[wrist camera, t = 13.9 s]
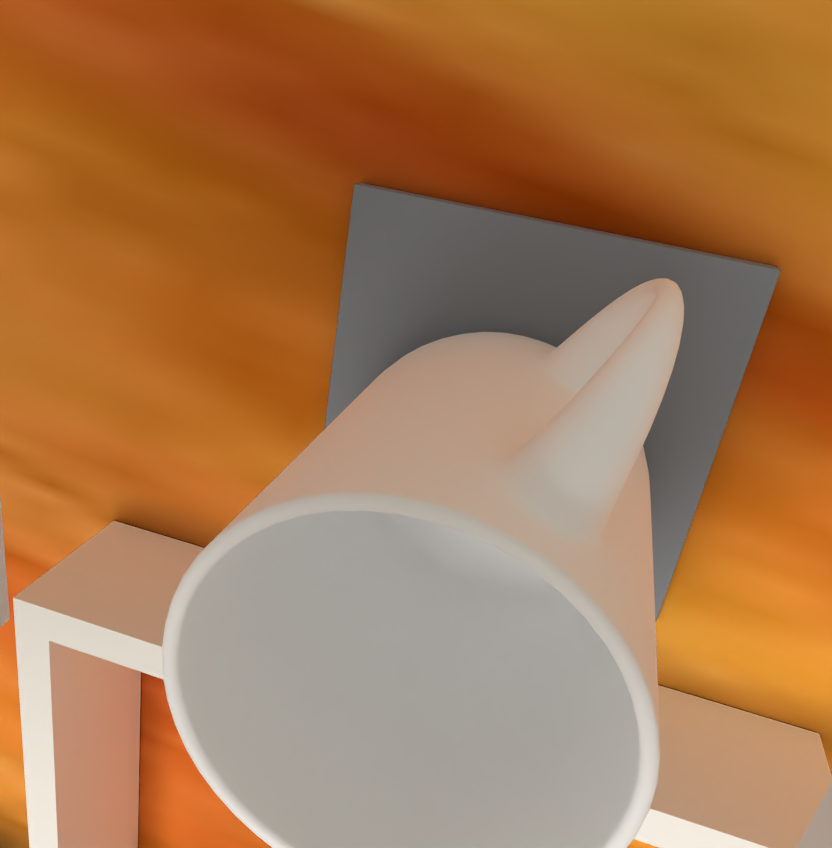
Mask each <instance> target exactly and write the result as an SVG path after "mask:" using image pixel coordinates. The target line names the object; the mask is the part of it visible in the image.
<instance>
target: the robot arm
mask: <svg viewBox="0 0 832 848" xmlns="http://www.w3.org/2000/svg"><path fill="white" fill-rule="evenodd" d="M9 619H10V616H9V603H8V590H7V577H6V564H5V552H4V539H3V526H2V513H1V500H0V627H1V626H2V625H3V624H5V623H6V622H7V621H8V620H9ZM797 848H832V782H831V784H830V786H829V788H828V790H827V791H826V793H825V795H824V797H823V799H822V801H821V803H820V805H819V806H818V808H817V810H816V812H815V814H814V816H813V818H812V820H811V821H810V823H809V825H808V827H807V829H806V831H805V833H804V835H803V836H802V838H801V840H800V842H799V844H798V846H797Z"/></svg>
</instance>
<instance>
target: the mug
mask: <svg viewBox="0 0 832 848" xmlns="http://www.w3.org/2000/svg"><path fill="white" fill-rule="evenodd" d="M683 322H684V302H683V296H682V292H681V290H680V288H679V286H678V285H677V284H676V283H675V282H674V281H672V280H669V279H667V278H659V279H654V280H650V281H647V282H645V283H642V284H640V285H638V286H636V287H635V288H633V289H631V290H629V291H628V292H626V293H625V294H623V295H622V296H620V297H619V298H617V299H616V300H614V301H613V302H612V303H610V304H609V305H608V306H606V307H605V308H604V309H602V310H601V311H600V312H599V313H597V314H596V315H595V316H594V317H592V318H591V319H590V320H589V321H588V322H586V323H585V324H584V325H583V326H582V327H580V328H579V329H578V330H577V331H576V332H574V333H573V334H572V335H571V336H570V337H569V338H567V339H566V340H565V341H564V342H563V343H561V344H560V345H559V346H558V347H555V346H552V345H550V344H548V343H545V342H542V341H539V340H536V339H532V338H529V337H526V336H521V335H515V334H510V333H503V332H475V333H464V334H460V335H455V336H451V337H446V338H442V339H439V340H437V341H434V342H431V343H428V344H426V345H423V346H421V347H419V348H417V349H416V350H414V351H412V352H410V353H408V354H406V355H405V356H403V357H402V358H401V359H399V360H398V361H397V362H395V363H394V364H393V365H391V366H390V367H388V368H387V369H386V370H385V371H383V372H382V373H381V374H380V375H379V376H378V377H377V378H376V379H375V380H374V381H373V382H372V383H371V384H370V385H369V386H368V387H367V388H366V389H365V390H364V391H363V392H362V393H361V394H360V395H359V396H358V397H357V398H356V399H355V400H354V401H353V402H352V403H351V404H350V405H349V406H348V407H347V408H346V409H345V410H344V411H343V412H342V413H341V414H340V415H339V416H338V417H337V418H335V419H334V420H333V421H332V422H331V423H330V424H329V425H328V426H327V427H326V428H325V429H324V430H323V431H322V432H321V433H320V434H319V435H318V436H317V437H316V438H315V439H314V440H313V441H312V442H311V443H310V444H309V445H308V446H307V447H306V448H305V449H304V450H303V451H302V452H301V453H300V454H299V455H298V456H297V457H296V458H295V459H294V460H293V461H292V462H291V463H290V464H289V465H288V466H287V467H286V468H285V469H284V470H283V471H282V472H281V473H280V474H279V475H278V476H277V477H276V478H275V479H274V480H273V481H272V482H271V483H270V484H269V485H268V486H267V487H266V488H265V489H264V490H263V491H262V492H261V493H260V494H259V495H258V496H257V497H256V498H255V499H254V500H253V501H252V502H251V503H250V504H249V505H248V506H247V507H246V508H245V509H244V510H242V511H241V512H240V513H239V514H238V515H237V516H236V517H235V518H234V519H233V520H232V521H231V522H230V523H229V524H228V525H227V526H226V527H225V528H224V529H223V530H222V531H221V532H220V533H219V534H218V535H217V536H216V537H215V538H214V539H213V540H212V541H211V542H210V543H209V544H208V545H207V546H206V547H205V548H204V549H203V550H202V551H201V552H200V553H199V554H198V555H197V557H196V558H195V560H194V561H193V562H192V564H191V565H190V566H189V568H188V569H187V571H186V572H185V573H184V575H183V577H182V579H181V581H180V583H179V585H178V587H177V589H176V592H175V594H174V596H173V598H172V602H171V605H170V609H169V612H168V616H167V619H166V623H165V629H164V637H163V645H162V666H163V679H164V684H165V690H166V696H167V700H168V704H169V707H170V710H171V713H172V716H173V720H174V723H175V725H176V728H177V730H178V732H179V734H180V737H181V739H182V741H183V743H184V746H185V748H186V750H187V751H188V753H189V755H190V756H191V758H192V760H193V762H194V763H195V765H196V767H197V768H198V770H199V772H200V773H201V774H202V776H203V777H204V779H205V780H206V781H207V783H208V784H209V785H210V787H211V788H212V789H213V791H214V792H215V793H216V795H217V796H218V797H219V798H220V799H221V800H222V801H223V803H224V804H225V805H226V806H227V807H228V808H229V809H230V810H231V811H232V813H233V814H234V815H235V816H236V817H237V818H238V819H240V820H241V821H242V822H243V823H244V824H245V825H246V826H247V827H248V828H249V829H250V830H251V831H252V832H253V833H255V834H256V835H257V836H258V837H259V838H261V839H262V840H263V841H265V842H266V843H267V844H268V845H270V846H271V847H272V848H627V847H628V846H629V844H630V843H631V842H632V840H633V839H634V838H635V836H636V835H637V833H638V831H639V829H640V827H641V825H642V823H643V821H644V820H645V818H646V816H647V814H648V812H649V810H650V807H651V804H652V800H653V797H654V794H655V791H656V788H657V784H658V776H659V768H660V759H661V747H660V722H659V697H658V672H657V647H656V622H655V597H654V572H653V547H652V522H651V499H650V481H649V472H648V467H647V462H646V457H645V452H644V447H643V444H644V442H645V440H646V437H647V435H648V433H649V431H650V428H651V426H652V424H653V421H654V419H655V416H656V414H657V411H658V409H659V406H660V404H661V401H662V399H663V396H664V393H665V390H666V388H667V385H668V382H669V379H670V376H671V373H672V370H673V367H674V363H675V360H676V356H677V352H678V349H679V345H680V340H681V334H682V328H683Z"/></svg>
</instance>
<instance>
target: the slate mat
mask: <svg viewBox="0 0 832 848" xmlns="http://www.w3.org/2000/svg"><path fill="white" fill-rule="evenodd" d="M780 271H781V270H780V269H779V268H778V267H777V266H773V265H768V264H763V263H758V262H753V261H748V260H743V259H738V258H733V257H728V256H723V255H718V254H713V253H708V252H703V251H698V250H693V249H688V248H683V247H678V246H673V245H668V244H663V243H658V242H653V241H648V240H643V239H638V238H633V237H628V236H623V235H619V234H614V233H609V232H604V231H599V230H594V229H589V228H584V227H579V226H574V225H569V224H564V223H559V222H554V221H549V220H544V219H539V218H534V217H529V216H524V215H519V214H514V213H509V212H504V211H499V210H494V209H489V208H484V207H479V206H474V205H469V204H464V203H459V202H454V201H449V200H445V199H440V198H435V197H430V196H425V195H420V194H415V193H410V192H405V191H400V190H395V189H390V188H385V187H380V186H375V185H370V184H365V183H358V184H354V190H353V198H352V207H351V215H350V223H349V231H348V239H347V248H346V256H345V264H344V272H343V281H342V289H341V297H340V305H339V313H338V322H337V330H336V338H335V346H334V354H333V363H332V371H331V379H330V387H329V396H328V404H327V412H326V420H325V428H326V427H327V426H328V425H329V424H330V423H331V422H332V421H333V420H334V419H335V418H337V417H338V416H339V415H340V414H341V413H342V412H343V411H344V410H345V409H346V408H347V407H348V406H349V405H350V404H351V403H352V402H353V401H354V400H355V399H356V398H357V397H358V396H359V395H360V394H361V393H362V392H363V391H364V390H365V389H366V388H367V387H368V386H369V385H370V384H371V383H372V382H373V381H374V380H375V379H376V378H377V377H378V376H379V375H380V374H381V373H382V372H383V371H385V370H386V369H387V368H388V367H390V366H391V365H393V364H394V363H395V362H397V361H398V360H399V359H401V358H402V357H403V356H405V355H406V354H408V353H410V352H412V351H414V350H416V349H417V348H419V347H421V346H423V345H426V344H428V343H431V342H434V341H437V340H439V339H442V338H446V337H451V336H455V335H460V334H464V333H475V332H503V333H510V334H515V335H521V336H526V337H529V338H532V339H536V340H539V341H542V342H545V343H548V344H550V345H552V346H555V347H558V346H559V345H560V344H561V343H563V342H564V341H565V340H566V339H567V338H569V337H570V336H571V335H572V334H573V333H574V332H576V331H577V330H578V329H579V328H580V327H582V326H583V325H584V324H585V323H586V322H588V321H589V320H590V319H591V318H592V317H594V316H595V315H596V314H597V313H599V312H600V311H601V310H602V309H604V308H605V307H606V306H608V305H609V304H610V303H612V302H613V301H614V300H616V299H617V298H619V297H620V296H622V295H623V294H625V293H626V292H628V291H629V290H631V289H633V288H635V287H636V286H638V285H640V284H642V283H645V282H647V281H650V280H654V279H659V278H667V279H669V280H672V281H674V282H675V283H676V284H677V285H678V286H679V288H680V290H681V292H682V296H683V302H684V322H683V328H682V334H681V340H680V345H679V349H678V352H677V356H676V360H675V363H674V367H673V370H672V373H671V376H670V379H669V382H668V385H667V388H666V390H665V393H664V396H663V399H662V401H661V404H660V406H659V409H658V411H657V414H656V416H655V419H654V421H653V424H652V426H651V428H650V431H649V433H648V435H647V437H646V440H645V442H644V444H643V447H644V452H645V457H646V462H647V467H648V472H649V481H650V499H651V522H652V547H653V572H654V597H655V622H656V621H657V618H658V615H659V613H660V610H661V607H662V604H663V601H664V598H665V596H666V593H667V590H668V587H669V584H670V581H671V579H672V576H673V573H674V570H675V567H676V565H677V562H678V559H679V556H680V553H681V550H682V548H683V545H684V542H685V539H686V536H687V534H688V531H689V528H690V525H691V522H692V519H693V517H694V514H695V511H696V508H697V505H698V503H699V500H700V497H701V494H702V491H703V488H704V486H705V483H706V480H707V477H708V474H709V471H710V469H711V466H712V463H713V460H714V457H715V455H716V452H717V449H718V446H719V443H720V440H721V438H722V435H723V432H724V429H725V426H726V424H727V421H728V418H729V415H730V412H731V409H732V407H733V404H734V401H735V398H736V395H737V393H738V390H739V387H740V384H741V381H742V378H743V376H744V373H745V370H746V367H747V364H748V361H749V359H750V356H751V353H752V350H753V347H754V345H755V342H756V339H757V336H758V333H759V330H760V328H761V325H762V322H763V319H764V316H765V314H766V311H767V308H768V305H769V302H770V299H771V297H772V294H773V291H774V288H775V285H776V282H777V280H778V277H779V274H780ZM325 428H324V429H325Z"/></svg>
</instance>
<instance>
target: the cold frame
mask: <svg viewBox="0 0 832 848" xmlns="http://www.w3.org/2000/svg"><path fill="white" fill-rule="evenodd" d="M203 549H204V548H203V547H200V546H197V545H193V544H190V543H187V542H183V541H180V540H177V539H173V538H170V537H167V536H163V535H160V534H157V533H153V532H150V531H147V530H144V529H140V528H137V527H134V526H130V525H127V524H124V523H120V522H117V521H113V522H111V523H110V524H109V525H107V526H106V527H105V528H103V529H102V530H101V531H100V532H98V533H97V534H96V535H94V536H93V537H92V538H90V539H89V540H88V541H86V542H85V543H84V544H83V545H81V546H80V547H79V548H77V549H76V550H75V551H73V552H72V553H71V554H69V555H68V556H67V557H66V558H64V559H63V560H62V561H60V562H59V563H58V564H56V565H55V566H54V567H52V568H51V569H50V570H49V571H47V572H46V573H45V574H43V575H42V576H41V577H39V578H38V579H37V580H36V581H34V582H33V583H32V584H30V585H29V586H28V587H26V588H25V589H24V590H22V591H21V592H20V593H19V594H17V595H16V596H15V597H13V605H14V620H15V635H16V650H17V665H18V681H19V696H20V711H21V726H22V741H23V756H24V772H25V787H26V802H27V817H28V832H29V847H30V848H138V812H139V755H140V697H141V672H143V673H146V674H149V675H152V676H155V677H158V678H161V679H163V666H162V645H163V637H164V629H165V623H166V619H167V616H168V612H169V609H170V605H171V602H172V598H173V596H174V594H175V592H176V589H177V587H178V585H179V583H180V581H181V579H182V577H183V575H184V573H185V572H186V571H187V569H188V568H189V566H190V565H191V564H192V562H193V561H194V560H195V558H196V557H197V555H198V554H199V553H200V552H201V551H202V550H203ZM658 697H659V722H660V747H661V759H660V768H659V776H658V784H657V788H656V791H655V794H654V797H653V800H652V804H651V807H650V810H649V812H648V814H647V816H646V818H645V820H644V821H643V823H642V825H641V827H640V829H639V831H638V833H637V835H636V836H635V838H634V839H635V840H638V841H641V842H644V843H647V844H650V845H653V846H656V847H659V848H797V846H798V844H799V842H800V840H801V838H802V836H803V835H804V833H805V831H806V829H807V827H808V825H809V823H810V821H811V820H812V818H813V816H814V814H815V812H816V810H817V808H818V806H819V805H820V803H821V801H822V799H823V797H824V795H825V793H826V791H827V790H828V788H829V786H830V784H831V782H832V774H831V771H830V768H829V764H828V761H827V758H826V754H825V751H824V748H823V744H822V741H821V738H820V734H819V733H816V732H812V731H809V730H806V729H802V728H799V727H796V726H792V725H789V724H786V723H782V722H779V721H776V720H773V719H769V718H766V717H763V716H759V715H756V714H753V713H749V712H746V711H743V710H739V709H736V708H733V707H729V706H726V705H723V704H720V703H716V702H713V701H710V700H706V699H703V698H700V697H696V696H693V695H690V694H686V693H683V692H680V691H677V690H673V689H670V688H667V687H663V686H660V685H658Z"/></svg>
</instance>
